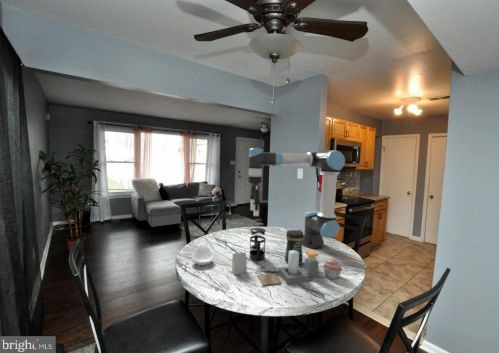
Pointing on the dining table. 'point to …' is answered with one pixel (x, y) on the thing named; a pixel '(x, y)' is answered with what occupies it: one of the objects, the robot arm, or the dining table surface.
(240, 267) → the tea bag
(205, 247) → the spoon rest
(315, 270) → the housing
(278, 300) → the dining table surface
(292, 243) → the coffee jar
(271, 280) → the pad
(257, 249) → the french press
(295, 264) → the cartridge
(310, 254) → the orange block
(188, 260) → the dining table surface
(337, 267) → the cupcake
